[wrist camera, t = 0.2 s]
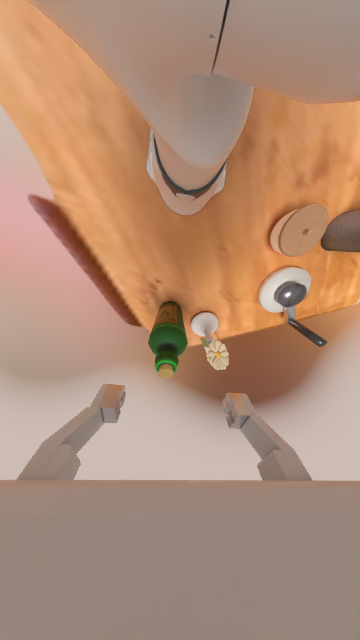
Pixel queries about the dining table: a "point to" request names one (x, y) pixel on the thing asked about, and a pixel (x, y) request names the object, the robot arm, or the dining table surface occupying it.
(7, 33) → the dining table surface
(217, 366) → the flower in vase
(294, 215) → the lidded jar
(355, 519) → the robot arm
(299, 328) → the saucepan with upright handle
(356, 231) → the pillar candle
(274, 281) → the light grey round disc
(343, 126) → the dining table surface
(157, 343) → the bottle
